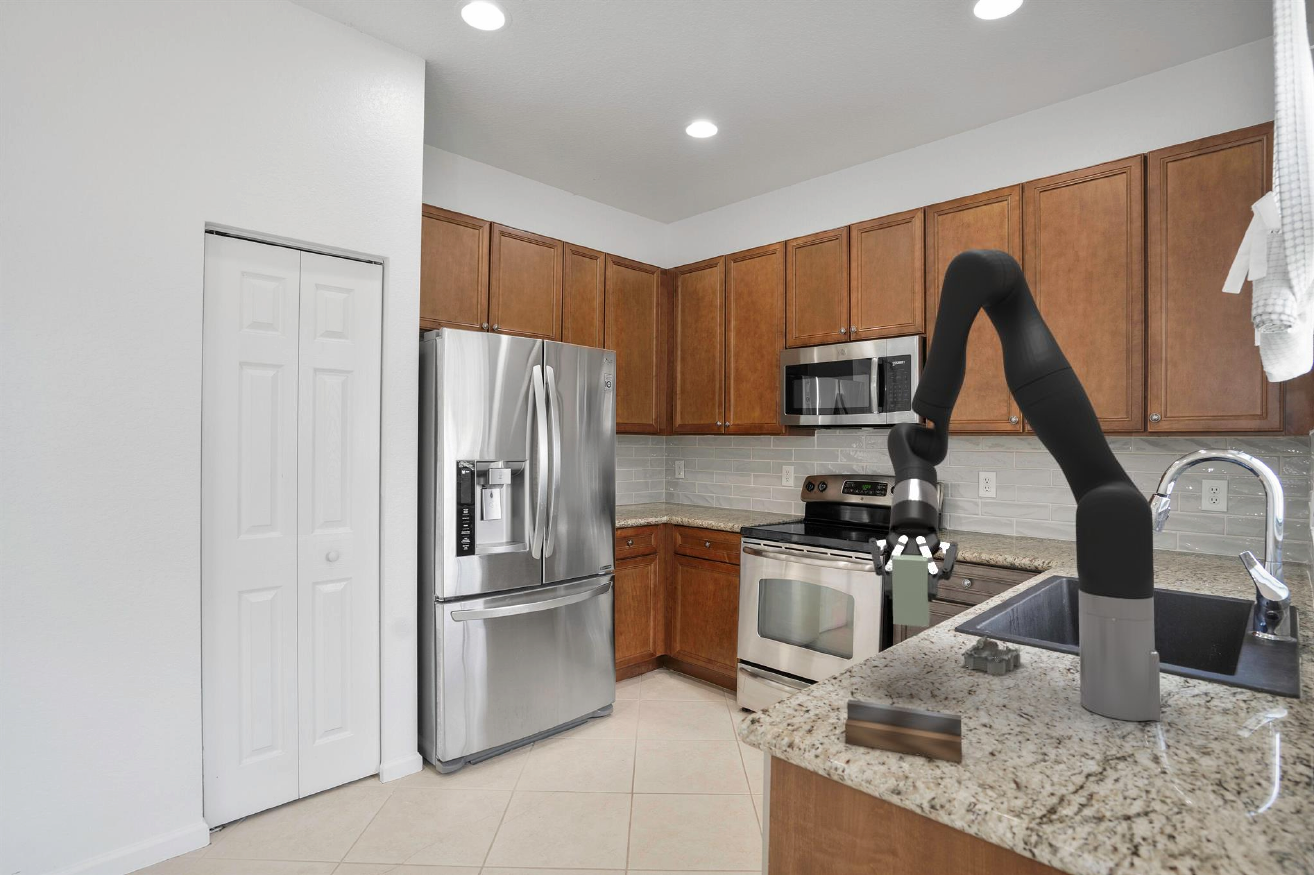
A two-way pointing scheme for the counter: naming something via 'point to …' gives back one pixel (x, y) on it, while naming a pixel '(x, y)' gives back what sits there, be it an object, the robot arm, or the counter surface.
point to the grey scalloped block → (991, 657)
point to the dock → (904, 730)
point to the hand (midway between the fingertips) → (910, 597)
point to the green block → (910, 590)
